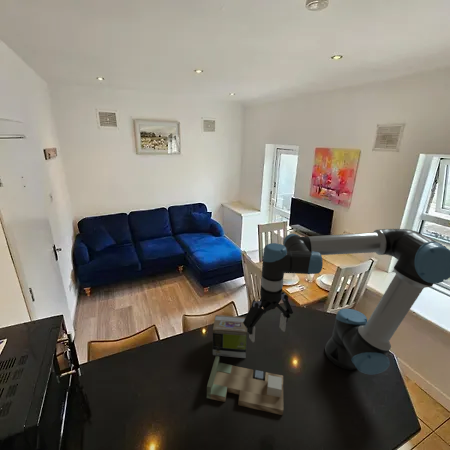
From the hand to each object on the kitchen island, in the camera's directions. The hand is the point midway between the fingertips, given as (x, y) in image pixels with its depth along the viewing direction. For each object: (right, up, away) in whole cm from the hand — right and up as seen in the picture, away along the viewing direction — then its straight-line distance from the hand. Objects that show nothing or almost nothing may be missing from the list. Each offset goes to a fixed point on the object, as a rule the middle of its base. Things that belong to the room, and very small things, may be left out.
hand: (267, 334), depth 97 cm
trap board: (-8, -22, +3) cm, 24 cm away
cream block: (+3, -21, 0) cm, 21 cm away
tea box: (-14, -16, +21) cm, 30 cm away
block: (-2, -21, +7) cm, 23 cm away
